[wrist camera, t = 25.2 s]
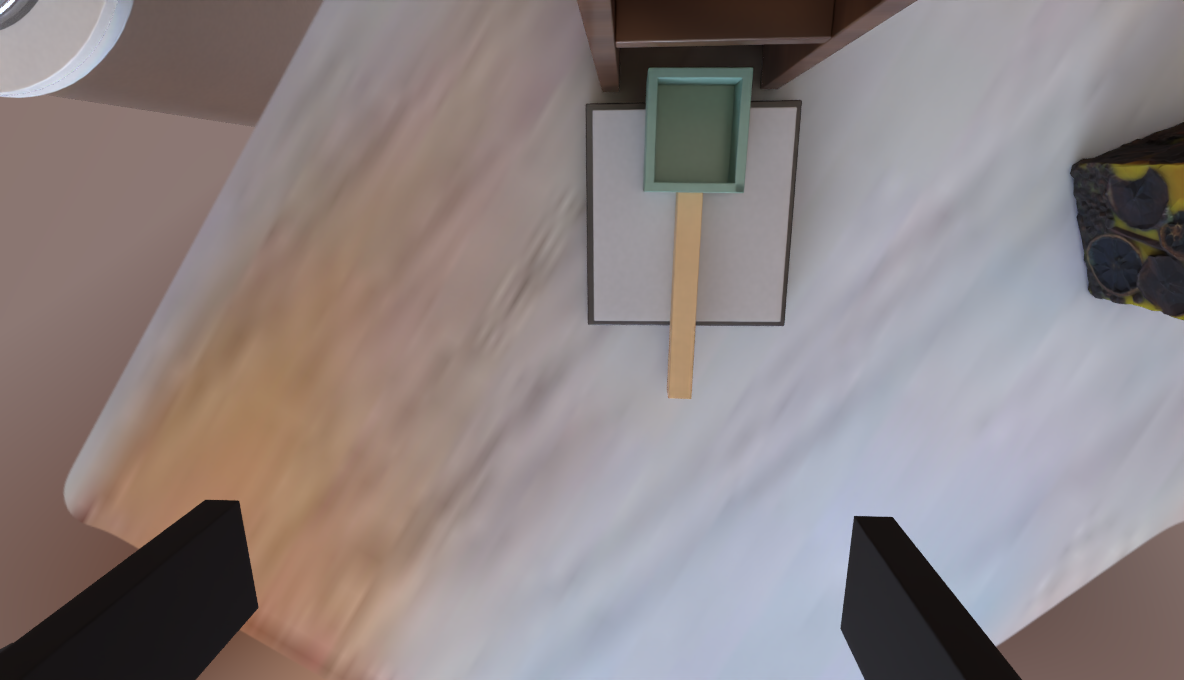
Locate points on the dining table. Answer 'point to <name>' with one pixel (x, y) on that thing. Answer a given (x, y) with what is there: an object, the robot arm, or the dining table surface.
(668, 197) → the whiteboard
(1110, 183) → the candle
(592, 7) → the shelf
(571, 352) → the dining table surface
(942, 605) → the robot arm
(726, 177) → the scoop
